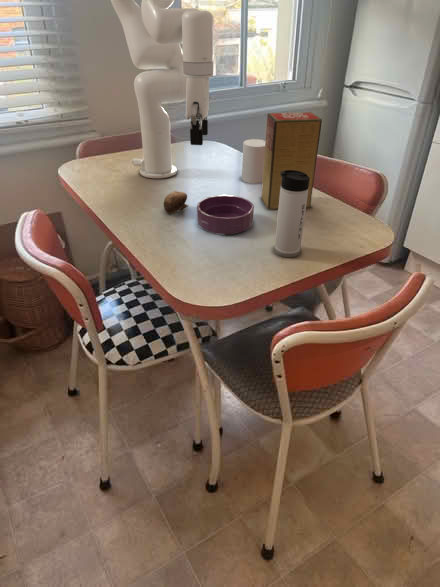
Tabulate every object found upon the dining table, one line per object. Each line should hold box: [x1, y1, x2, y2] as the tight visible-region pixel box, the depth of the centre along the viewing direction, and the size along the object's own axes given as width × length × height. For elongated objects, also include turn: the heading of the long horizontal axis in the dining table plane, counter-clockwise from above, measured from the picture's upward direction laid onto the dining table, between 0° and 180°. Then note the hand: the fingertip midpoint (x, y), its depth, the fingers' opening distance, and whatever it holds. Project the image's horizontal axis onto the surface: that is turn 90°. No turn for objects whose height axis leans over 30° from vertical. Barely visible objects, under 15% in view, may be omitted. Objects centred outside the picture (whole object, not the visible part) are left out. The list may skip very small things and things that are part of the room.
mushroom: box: [163, 190, 189, 215], centre depth 126 cm, size 8×8×6 cm
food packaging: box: [260, 111, 323, 210], centre depth 126 cm, size 13×9×25 cm
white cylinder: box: [241, 138, 266, 184], centre depth 146 cm, size 8×8×12 cm
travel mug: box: [273, 170, 310, 258], centre depth 103 cm, size 6×7×20 cm
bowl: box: [196, 194, 255, 235], centre depth 120 cm, size 15×15×5 cm
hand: (199, 139), depth 120 cm, fingers open, 9 cm apart
